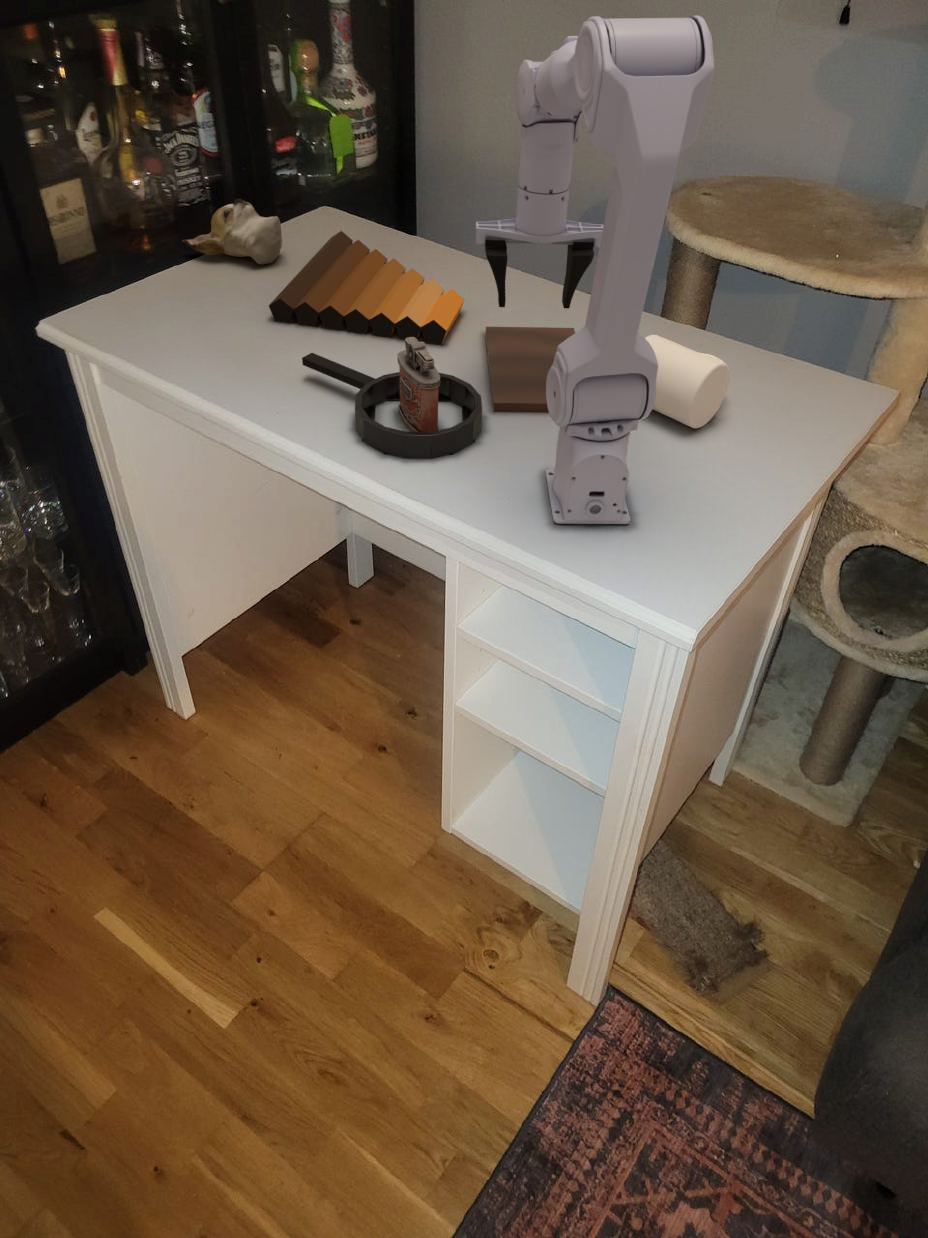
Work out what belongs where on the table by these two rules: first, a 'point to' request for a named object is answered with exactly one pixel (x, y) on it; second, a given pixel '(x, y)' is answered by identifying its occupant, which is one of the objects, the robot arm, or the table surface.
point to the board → (521, 365)
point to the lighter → (418, 388)
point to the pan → (390, 390)
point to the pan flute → (366, 295)
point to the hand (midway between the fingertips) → (533, 304)
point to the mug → (688, 382)
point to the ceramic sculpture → (241, 234)
